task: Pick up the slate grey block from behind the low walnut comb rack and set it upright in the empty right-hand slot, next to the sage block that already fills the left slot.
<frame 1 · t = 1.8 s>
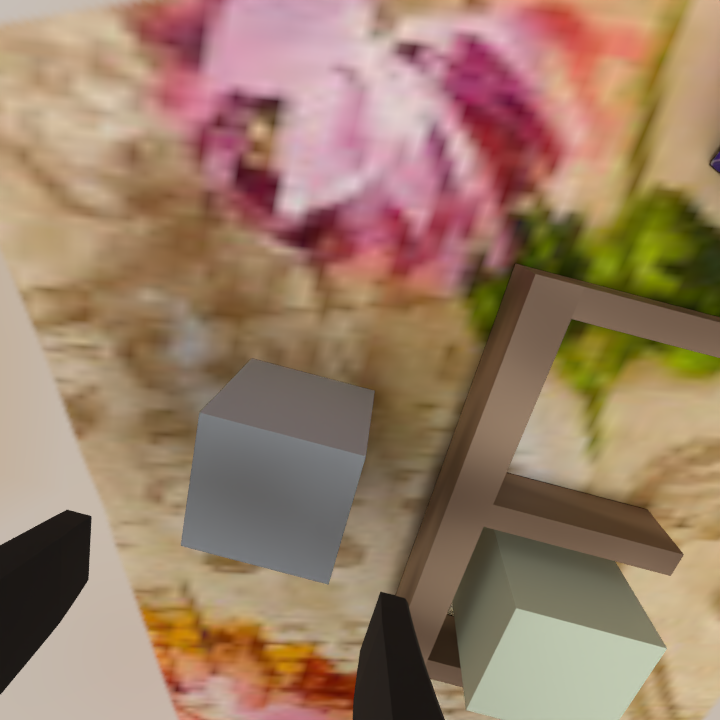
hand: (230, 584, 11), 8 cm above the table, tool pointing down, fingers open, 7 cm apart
sage block: (523, 569, 20), on the table
slate block: (301, 428, 19), on the table
comb rack: (559, 497, 19), on the table
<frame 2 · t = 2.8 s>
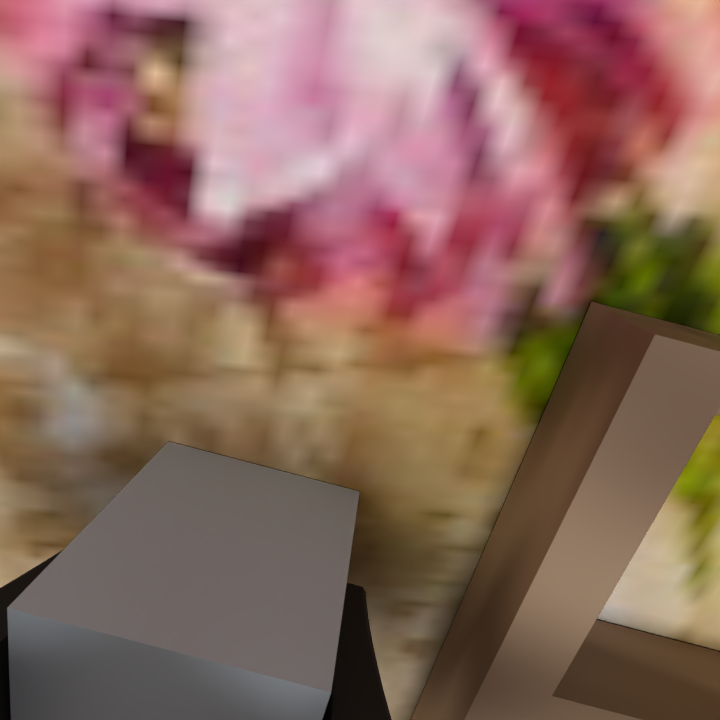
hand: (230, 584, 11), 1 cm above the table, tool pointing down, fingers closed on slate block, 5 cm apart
slate block: (248, 542, 12), on the table, touching gripper
comb rack: (640, 646, 12), on the table
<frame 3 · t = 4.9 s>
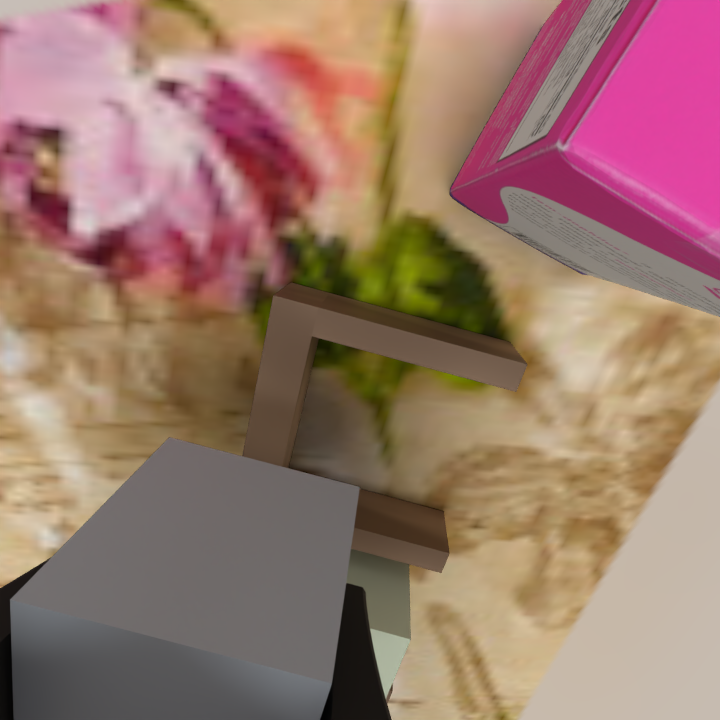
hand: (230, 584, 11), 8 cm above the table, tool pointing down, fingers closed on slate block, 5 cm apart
supplement box: (564, 155, 15), on the table
sage block: (341, 566, 21), on the table
slate block: (249, 538, 12), point 7 cm above the table, touching gripper
comb rack: (363, 499, 20), on the table
when the fingers open (3 cm above the table, at t = 6.9 s): slate block drops 2 cm, on the table.
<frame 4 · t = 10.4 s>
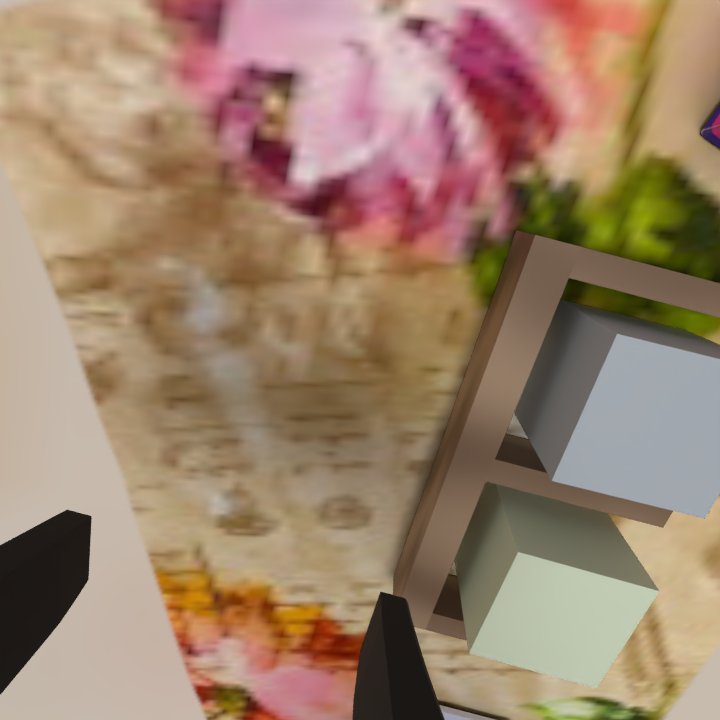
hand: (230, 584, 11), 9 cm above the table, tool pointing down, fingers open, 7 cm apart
sage block: (523, 529, 21), on the table
slate block: (595, 372, 18), on the table
comb rack: (558, 458, 20), on the table
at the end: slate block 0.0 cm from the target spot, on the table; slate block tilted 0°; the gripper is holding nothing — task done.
